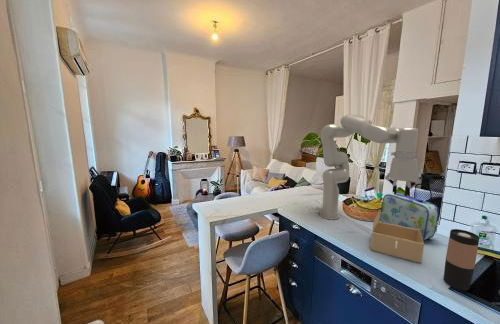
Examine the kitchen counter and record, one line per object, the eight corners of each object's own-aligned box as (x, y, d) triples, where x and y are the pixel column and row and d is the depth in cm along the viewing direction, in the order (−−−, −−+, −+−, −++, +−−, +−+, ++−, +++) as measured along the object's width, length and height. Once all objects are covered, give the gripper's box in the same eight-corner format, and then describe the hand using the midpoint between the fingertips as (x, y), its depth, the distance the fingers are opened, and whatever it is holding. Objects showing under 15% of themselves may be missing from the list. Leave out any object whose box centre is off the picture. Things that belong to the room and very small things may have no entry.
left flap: (373, 231, 102) (372, 230, 102) (375, 221, 113) (373, 220, 113) (380, 218, 99) (379, 218, 100) (381, 209, 110) (379, 209, 111)
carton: (370, 252, 100) (371, 234, 99) (372, 236, 116) (373, 220, 114) (422, 266, 90) (425, 247, 89) (416, 246, 106) (419, 229, 104)
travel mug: (438, 274, 85) (445, 227, 82) (462, 278, 83) (470, 230, 80) (449, 288, 78) (458, 237, 75) (476, 293, 76) (486, 240, 73)
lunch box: (438, 241, 111) (444, 202, 107) (424, 245, 107) (430, 205, 104) (390, 221, 135) (393, 188, 131) (377, 223, 131) (381, 190, 128)
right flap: (417, 225, 92) (419, 225, 92) (414, 215, 103) (415, 215, 103) (421, 241, 92) (423, 241, 92) (418, 229, 103) (419, 229, 103)
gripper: (383, 155, 98) (379, 193, 101) (430, 157, 89) (424, 200, 92) (383, 153, 104) (379, 190, 107) (427, 155, 96) (421, 195, 98)
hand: (400, 194), depth 100 cm, fingers open, 3 cm apart
